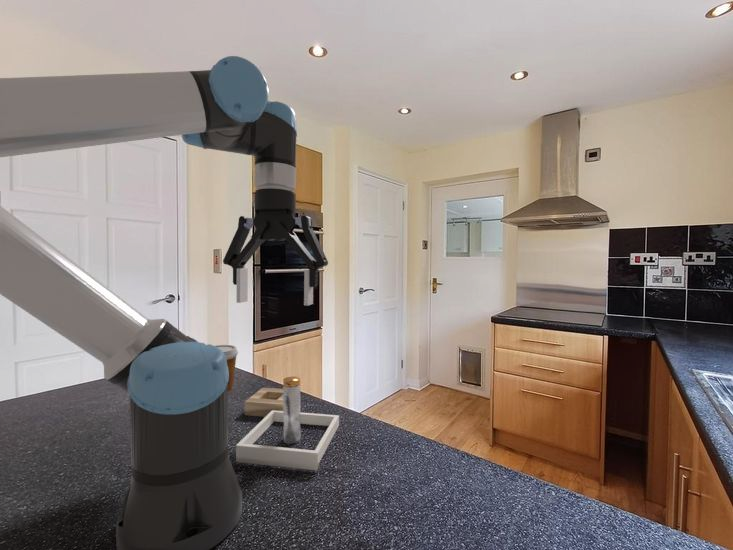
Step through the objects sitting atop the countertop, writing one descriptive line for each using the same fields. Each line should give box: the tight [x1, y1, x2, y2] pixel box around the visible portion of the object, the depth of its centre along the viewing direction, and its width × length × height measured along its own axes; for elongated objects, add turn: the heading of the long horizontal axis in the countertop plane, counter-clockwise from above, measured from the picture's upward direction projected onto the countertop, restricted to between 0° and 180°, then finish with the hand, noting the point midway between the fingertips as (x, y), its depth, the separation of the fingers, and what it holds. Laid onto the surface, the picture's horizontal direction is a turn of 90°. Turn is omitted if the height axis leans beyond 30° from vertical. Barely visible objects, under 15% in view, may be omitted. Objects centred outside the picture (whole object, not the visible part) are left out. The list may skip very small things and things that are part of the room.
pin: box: [282, 376, 302, 445], centre depth 69 cm, size 3×3×12 cm
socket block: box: [244, 387, 283, 418], centre depth 84 cm, size 9×9×4 cm
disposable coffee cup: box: [215, 344, 239, 392], centre depth 96 cm, size 10×10×12 cm
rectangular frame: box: [235, 410, 340, 471], centre depth 69 cm, size 15×15×3 cm
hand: (274, 303), depth 68 cm, fingers open, 13 cm apart
